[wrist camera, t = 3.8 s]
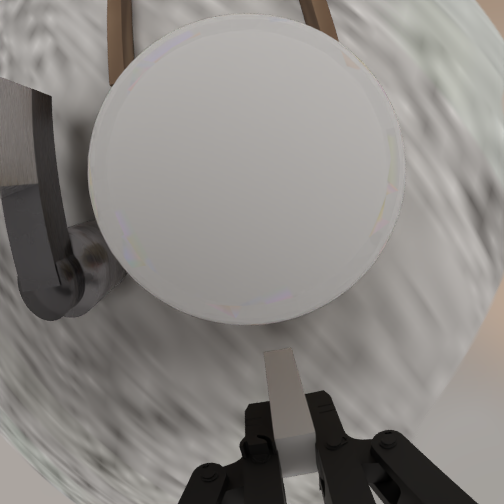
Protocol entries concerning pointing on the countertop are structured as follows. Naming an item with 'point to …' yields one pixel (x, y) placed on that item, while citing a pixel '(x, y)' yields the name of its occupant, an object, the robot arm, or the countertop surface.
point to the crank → (35, 204)
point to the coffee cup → (246, 169)
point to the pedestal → (93, 265)
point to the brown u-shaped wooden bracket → (123, 35)
